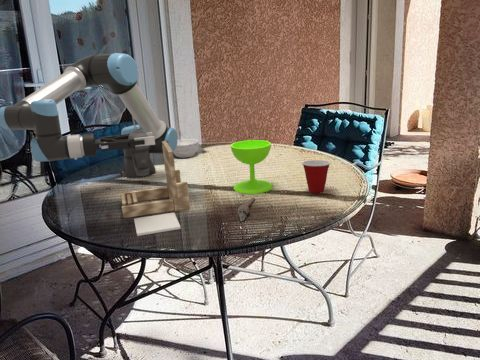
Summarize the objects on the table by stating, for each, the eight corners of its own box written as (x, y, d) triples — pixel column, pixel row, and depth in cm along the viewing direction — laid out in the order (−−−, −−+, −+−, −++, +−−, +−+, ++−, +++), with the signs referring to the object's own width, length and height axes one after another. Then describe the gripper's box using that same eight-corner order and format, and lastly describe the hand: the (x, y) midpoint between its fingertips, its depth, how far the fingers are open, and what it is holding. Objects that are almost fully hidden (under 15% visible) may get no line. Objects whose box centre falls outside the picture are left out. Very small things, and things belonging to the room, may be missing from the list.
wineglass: (260, 196, 176) (258, 150, 171) (225, 191, 184) (222, 147, 179) (279, 184, 189) (278, 141, 183) (246, 180, 197) (244, 139, 192)
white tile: (137, 236, 146) (136, 233, 146) (134, 220, 159) (133, 218, 158) (180, 228, 149) (180, 226, 149) (174, 214, 162) (174, 212, 162)
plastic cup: (332, 187, 180) (332, 158, 177) (328, 196, 170) (328, 165, 167) (305, 186, 184) (304, 157, 180) (299, 195, 174) (299, 164, 171)
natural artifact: (237, 226, 152) (230, 217, 152) (253, 201, 173) (246, 192, 172) (246, 221, 150) (238, 211, 150) (260, 195, 171) (254, 187, 171)
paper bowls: (198, 158, 239) (196, 143, 237) (169, 160, 240) (167, 145, 238) (200, 151, 254) (199, 137, 252) (173, 153, 254) (172, 139, 252)
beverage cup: (148, 177, 153) (141, 117, 148) (128, 177, 155) (120, 118, 149) (156, 171, 160) (150, 114, 155) (137, 171, 162) (130, 114, 156)
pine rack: (123, 219, 161) (114, 158, 154) (121, 201, 179) (113, 147, 173) (190, 209, 167) (184, 150, 160) (181, 193, 185) (175, 139, 179)
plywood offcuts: (124, 215, 164) (122, 203, 163) (122, 205, 176) (121, 193, 174) (138, 213, 166) (137, 201, 164) (136, 202, 177) (135, 191, 176)
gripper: (86, 150, 160) (152, 143, 166) (83, 163, 142) (157, 155, 147) (82, 129, 158) (150, 123, 164) (79, 139, 140) (155, 132, 145)
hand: (153, 138), depth 155 cm, fingers closed on beverage cup, 7 cm apart
